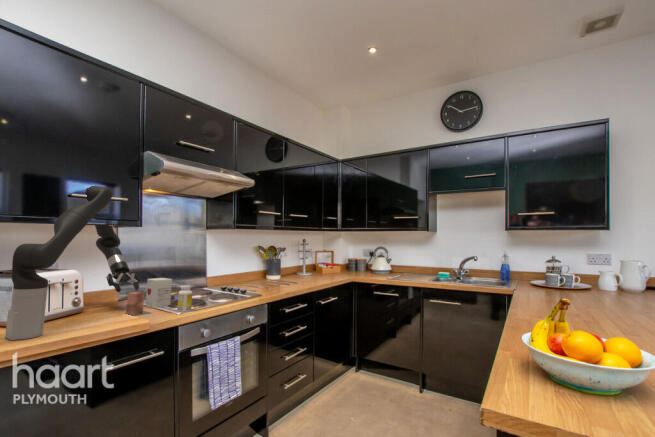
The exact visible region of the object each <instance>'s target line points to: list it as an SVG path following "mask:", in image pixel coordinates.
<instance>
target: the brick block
mask: <svg viewBox="0 0 655 437" xmlns="http://www.w3.org/2000/svg"><path fill="white" fill-rule="evenodd" d="M126 299H127V302H126V312H125V313H126V314H128V315H137V314H143V311H144V302H145V301H144V300H145V292H143V291H132V292H127V298H126Z"/></svg>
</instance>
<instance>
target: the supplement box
mask: <svg viewBox="0 0 655 437" xmlns="http://www.w3.org/2000/svg"><path fill="white" fill-rule="evenodd" d="M146 282H147V283H146V296H145V307H149V308H155V309H159V308H164V307H169V306H168V305H170V306H171V298H172V286H173V279H172V278H168V277H167V278H166V277H157V278H147V281H146Z"/></svg>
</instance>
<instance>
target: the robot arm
mask: <svg viewBox="0 0 655 437" xmlns="http://www.w3.org/2000/svg"><path fill="white" fill-rule="evenodd" d="M85 193H86V195H87V200H88V201H89V202H88V203H85V204H84V203H83V204H80V205H75V206H73V207H70V208H68V209H67V210H65V211H64V212H63V213H61V215H60V216H59V217H57V219H55V221H54V223H53V232H54V235H53V236H52V238H51V239H49V240H48V241H47V242H45V243H21V244H20V245H18V246H17V247H16V249H15V250H14V252H13V255H12V262H11V263H12V264H11V265H12V267H11V282H12V286H13V287H12V297H11V304H10V309H9V310H8V311H7V316H6V317H7V318H6V327H5V328H6V329H5V334H4V335H5V336H4V337H5V339H7V340H8V341H9V340H10V341H15V340H16V341H17V340H26V339H27V340H28V339H33V338H36V337H37V338H38V337H40V336H43V334H44V327H45V326H44V324H45V316H46V306H47V298H48V288H49V280H48V279H47V278H45V277H43V276H41V275H39V274H38V273H37V271H36V270H44V269H45V270H46V269H48V268H50V267H52V266H53V265H55V263H56V262H57V261H58V259H59V258H60V257H61V255H62V254H63V253H64V251H65V250H66V248H67V247H68V245H69V244H70V243H71V242H72V241H73V240H75V237H76V236H77V235H78V234H79V233H81V232H82V231H83V229H84V228H85V227H86V226H87V225H88V223H89V222H90V221H91V220H93V219H92V218H93V217H94V216H95V215H96V214H97V213H98V212H100V211H101V210H102V211H103V210H104V209H105V208H106V207H107V206H108V205H109V204H110V203H111V201H112V199H113V191H112V189H111V188H109V187H107V186H102V185H101V186H100V185H95V186H91V187H89V188H87V189H86V192H85ZM111 198H112V199H111ZM94 228H95V231H96V233H97V235H98V238H97V239H96V241H95V245H96V247H97V249H98V250H99V251H100V252H101V253H102V254H103V255H104V257H105V258H106V261H107V264H108V267H109V270H110V272H111V273H109V272H108V274H107V275H106V278H105V279H106V280H107V284H108V286H109V287H112V286H113V287H114V289H115V292H117V293H120V292H121V291H122V287H121V285H120V283H126V282H127V283H129V284H132V285H133V288H134V290H135V291H138V290H139V289H140V285H139V284H140V282H141V281H142V279H141V278H140V275H139V274H138V272H137V271H135V272H131V271H130V268H129V266H128V263H127V261H126V259H125V256H124V255H123V253H122V251H121V250H120V248H119V247H120V245H121V238H119V236H118V235H117V233H116V232H115V231H114V230H115V229H114V227H113V225H112V226H109V225H95V224H94ZM114 280H115V281H114Z"/></svg>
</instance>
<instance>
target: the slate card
mask: <svg viewBox="0 0 655 437" xmlns="http://www.w3.org/2000/svg"><path fill="white" fill-rule="evenodd" d="M124 313H125V314H126V312H124ZM149 314H152V312H150V311H145V310H143V314H137V315H131V316H134V317H138V316H144V315H149Z"/></svg>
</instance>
